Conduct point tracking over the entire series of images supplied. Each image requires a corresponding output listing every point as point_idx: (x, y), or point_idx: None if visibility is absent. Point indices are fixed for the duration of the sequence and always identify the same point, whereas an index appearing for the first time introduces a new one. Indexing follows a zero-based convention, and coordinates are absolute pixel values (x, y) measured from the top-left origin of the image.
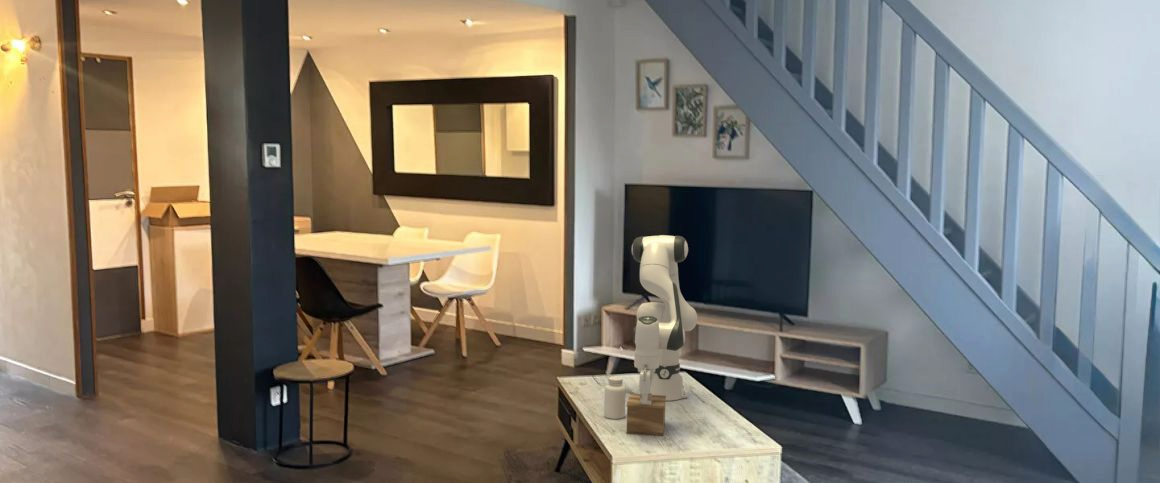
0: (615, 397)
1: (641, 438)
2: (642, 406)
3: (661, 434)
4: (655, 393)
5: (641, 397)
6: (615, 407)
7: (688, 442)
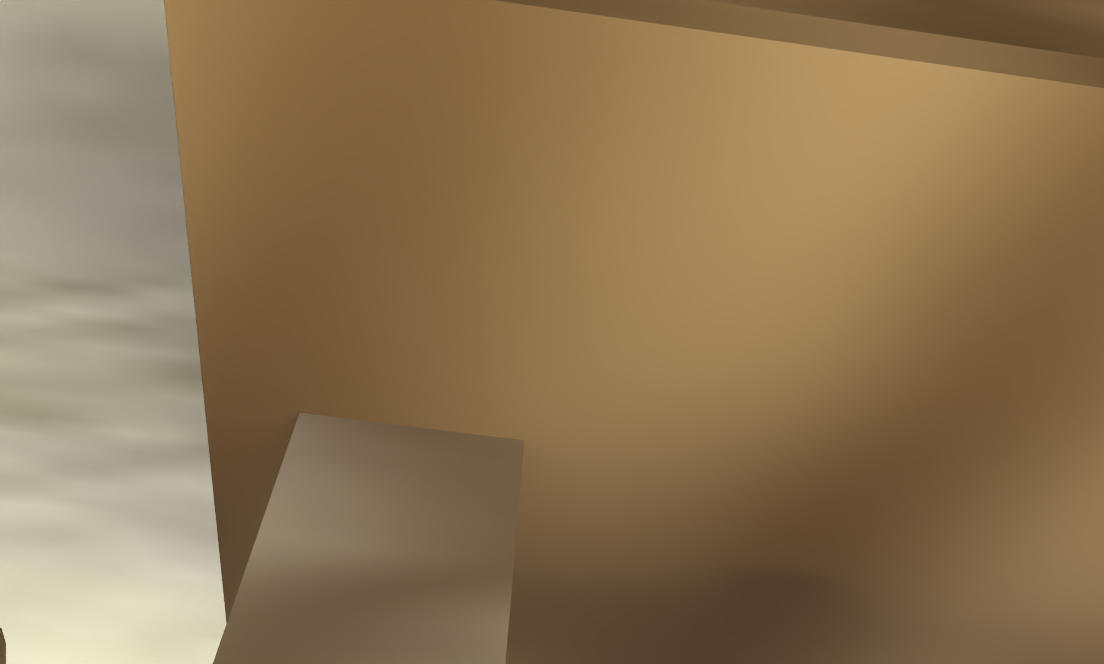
0: None
1: (161, 48)
2: (226, 439)
3: None
4: None
5: (234, 645)
6: None
7: (176, 583)
